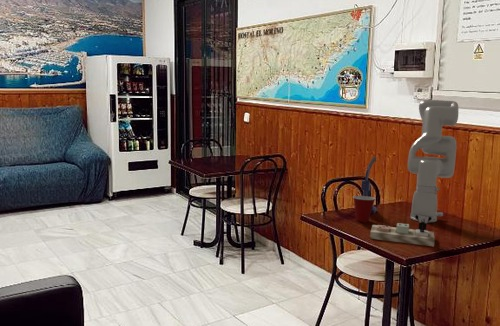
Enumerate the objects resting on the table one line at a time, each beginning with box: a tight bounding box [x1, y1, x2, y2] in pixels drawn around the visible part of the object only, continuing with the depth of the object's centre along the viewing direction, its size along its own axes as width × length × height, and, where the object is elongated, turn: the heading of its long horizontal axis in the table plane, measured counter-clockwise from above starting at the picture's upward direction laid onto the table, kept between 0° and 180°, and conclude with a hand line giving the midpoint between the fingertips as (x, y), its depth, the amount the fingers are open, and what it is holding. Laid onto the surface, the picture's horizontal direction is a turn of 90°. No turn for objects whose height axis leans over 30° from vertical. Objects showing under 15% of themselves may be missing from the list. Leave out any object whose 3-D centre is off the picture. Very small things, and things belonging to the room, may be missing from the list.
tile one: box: [415, 228, 429, 237], centre depth 216 cm, size 5×5×4 cm
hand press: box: [360, 156, 378, 214], centre depth 264 cm, size 19×9×28 cm, turn 154°
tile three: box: [377, 224, 391, 232], centre depth 221 cm, size 5×5×4 cm
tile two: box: [396, 222, 410, 234], centre depth 219 cm, size 5×5×4 cm
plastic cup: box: [352, 195, 376, 223], centre depth 245 cm, size 11×11×12 cm
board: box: [369, 224, 436, 247], centre depth 219 cm, size 26×12×3 cm, turn 72°
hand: (421, 231), depth 216 cm, fingers closed
